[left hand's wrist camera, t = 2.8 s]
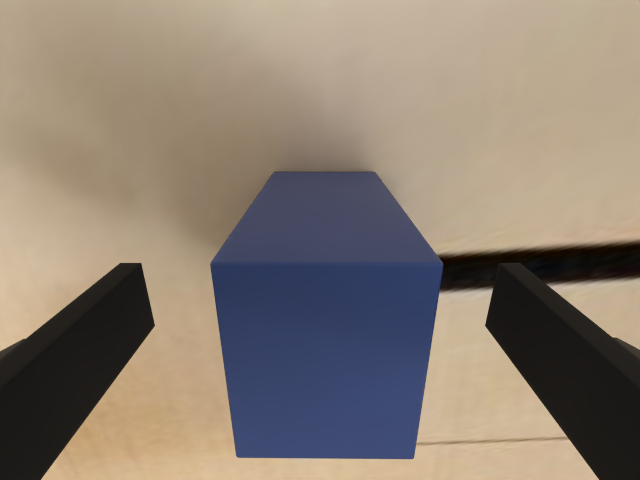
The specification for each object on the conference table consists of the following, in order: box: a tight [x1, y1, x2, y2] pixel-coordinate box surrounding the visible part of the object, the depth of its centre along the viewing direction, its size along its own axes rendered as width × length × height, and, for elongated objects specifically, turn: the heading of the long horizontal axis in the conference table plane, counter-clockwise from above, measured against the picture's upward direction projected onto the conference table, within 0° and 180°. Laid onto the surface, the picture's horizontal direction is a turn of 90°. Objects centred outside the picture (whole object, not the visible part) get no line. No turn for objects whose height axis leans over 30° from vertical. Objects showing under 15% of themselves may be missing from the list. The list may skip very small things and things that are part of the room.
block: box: [210, 172, 443, 459], centre depth 14 cm, size 5×6×11 cm
